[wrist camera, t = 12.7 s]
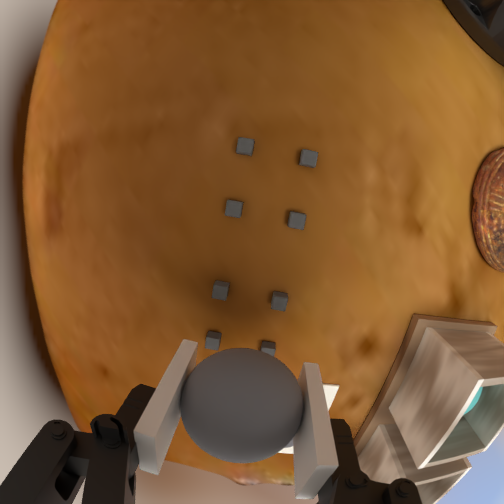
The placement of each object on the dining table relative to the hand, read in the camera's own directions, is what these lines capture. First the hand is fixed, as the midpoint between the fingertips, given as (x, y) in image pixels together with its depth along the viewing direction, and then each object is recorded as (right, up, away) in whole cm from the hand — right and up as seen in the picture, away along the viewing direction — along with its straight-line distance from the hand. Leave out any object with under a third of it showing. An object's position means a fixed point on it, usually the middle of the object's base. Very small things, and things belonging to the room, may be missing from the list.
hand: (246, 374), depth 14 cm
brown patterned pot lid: (+24, +10, +5) cm, 27 cm away
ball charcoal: (0, 0, 0) cm, 0 cm away
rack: (+17, -10, +9) cm, 22 cm away
